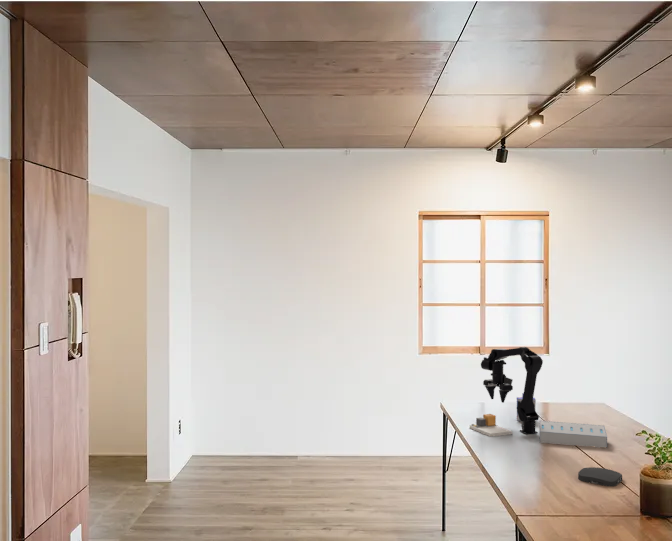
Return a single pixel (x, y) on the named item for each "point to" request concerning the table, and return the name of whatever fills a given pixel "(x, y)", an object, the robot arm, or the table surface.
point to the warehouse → (573, 434)
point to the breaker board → (491, 430)
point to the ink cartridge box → (520, 400)
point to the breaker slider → (480, 421)
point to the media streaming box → (600, 476)
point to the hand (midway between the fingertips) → (497, 400)
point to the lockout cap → (490, 419)
